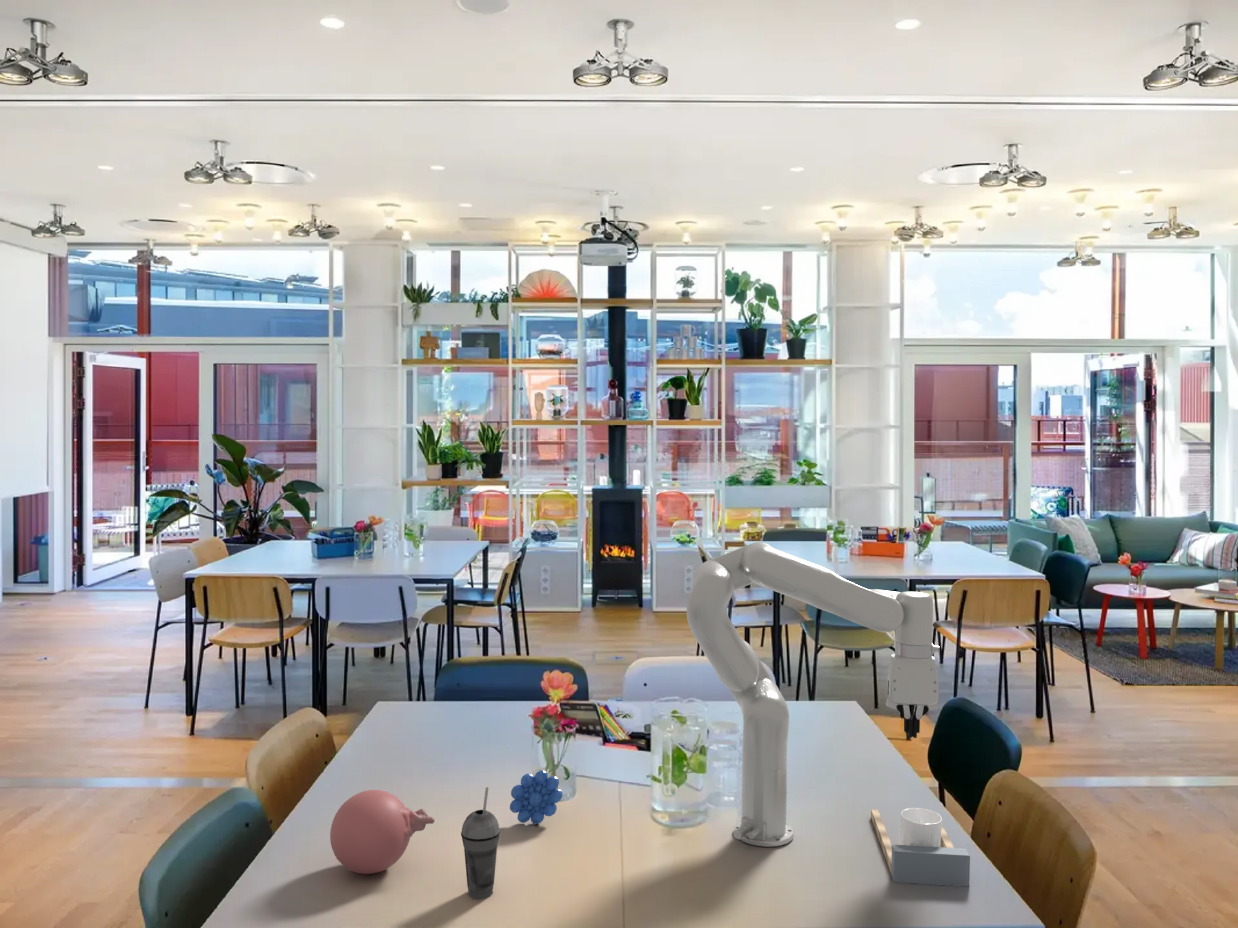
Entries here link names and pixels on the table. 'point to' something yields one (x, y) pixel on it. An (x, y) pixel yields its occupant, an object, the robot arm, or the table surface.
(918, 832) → the white cup
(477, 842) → the beverage cup
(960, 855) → the end stop
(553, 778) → the blue flower ornament
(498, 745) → the table surface
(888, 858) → the guide channel
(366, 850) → the balloon
